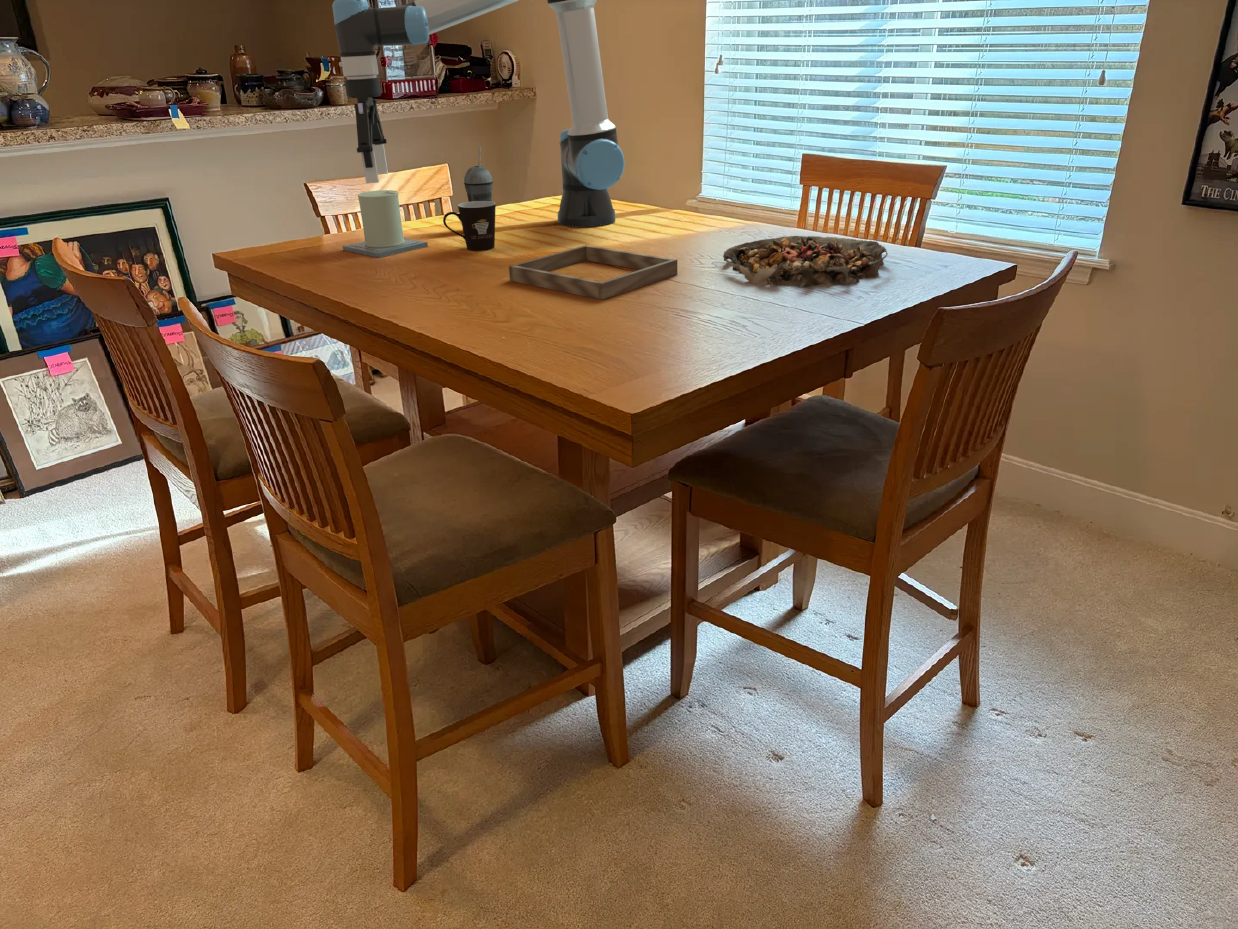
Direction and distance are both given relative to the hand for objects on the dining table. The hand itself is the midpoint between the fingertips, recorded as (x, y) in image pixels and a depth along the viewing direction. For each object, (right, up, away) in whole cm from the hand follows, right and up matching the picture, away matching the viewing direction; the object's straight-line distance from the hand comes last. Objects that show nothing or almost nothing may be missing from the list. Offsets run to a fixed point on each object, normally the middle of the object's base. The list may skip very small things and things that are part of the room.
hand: (377, 178), depth 206 cm
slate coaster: (0, -14, +7) cm, 16 cm away
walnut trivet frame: (+50, -28, -24) cm, 62 cm away
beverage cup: (+21, -6, +24) cm, 32 cm away
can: (0, -14, +6) cm, 15 cm away
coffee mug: (+22, -15, +4) cm, 27 cm away
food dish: (+94, -26, -21) cm, 100 cm away
